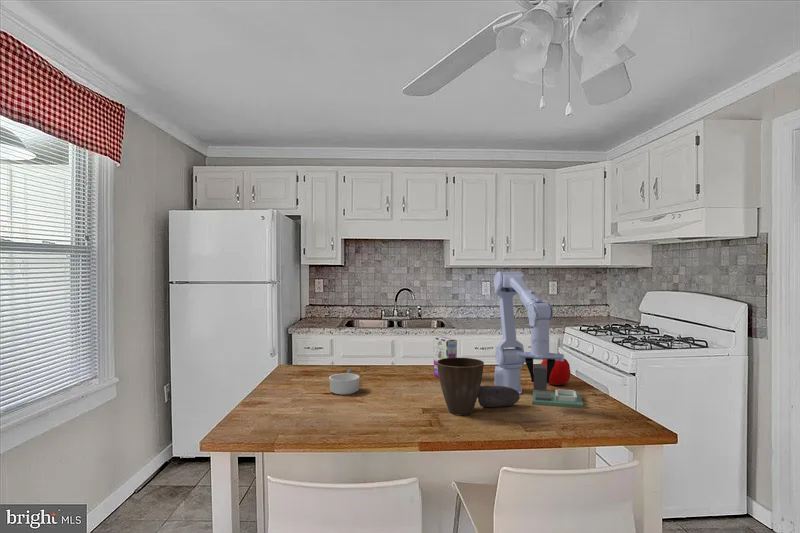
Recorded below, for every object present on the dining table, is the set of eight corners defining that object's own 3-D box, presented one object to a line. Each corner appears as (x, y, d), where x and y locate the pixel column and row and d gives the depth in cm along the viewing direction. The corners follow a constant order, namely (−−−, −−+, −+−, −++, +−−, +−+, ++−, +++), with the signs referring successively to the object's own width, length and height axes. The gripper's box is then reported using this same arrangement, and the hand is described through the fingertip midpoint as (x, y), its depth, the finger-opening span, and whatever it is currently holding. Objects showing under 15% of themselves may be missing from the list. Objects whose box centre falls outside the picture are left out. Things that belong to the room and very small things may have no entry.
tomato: (575, 388, 181) (575, 358, 181) (544, 388, 181) (544, 358, 181) (564, 380, 193) (564, 352, 193) (536, 380, 193) (535, 352, 193)
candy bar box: (457, 380, 194) (457, 339, 194) (446, 381, 192) (446, 340, 192) (443, 374, 204) (443, 335, 204) (433, 375, 202) (433, 336, 202)
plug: (533, 389, 154) (533, 367, 154) (533, 384, 160) (533, 363, 160) (546, 390, 153) (546, 368, 153) (546, 385, 159) (546, 364, 159)
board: (532, 404, 162) (532, 396, 162) (532, 393, 175) (532, 386, 175) (583, 408, 157) (583, 400, 157) (579, 396, 171) (579, 389, 170)
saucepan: (364, 382, 192) (364, 368, 192) (357, 396, 173) (357, 380, 172) (336, 382, 193) (336, 368, 193) (326, 396, 173) (325, 380, 173)
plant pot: (429, 407, 159) (429, 359, 158) (469, 402, 164) (469, 355, 164) (450, 421, 145) (449, 368, 144) (493, 415, 150) (492, 364, 150)
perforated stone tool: (517, 403, 163) (517, 382, 163) (522, 407, 158) (522, 386, 158) (473, 404, 162) (473, 384, 162) (478, 409, 156) (477, 388, 156)
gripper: (516, 341, 154) (516, 383, 154) (564, 343, 150) (564, 386, 150) (517, 337, 161) (517, 378, 161) (563, 339, 157) (563, 381, 157)
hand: (540, 381), depth 156 cm, fingers closed on plug, 4 cm apart
